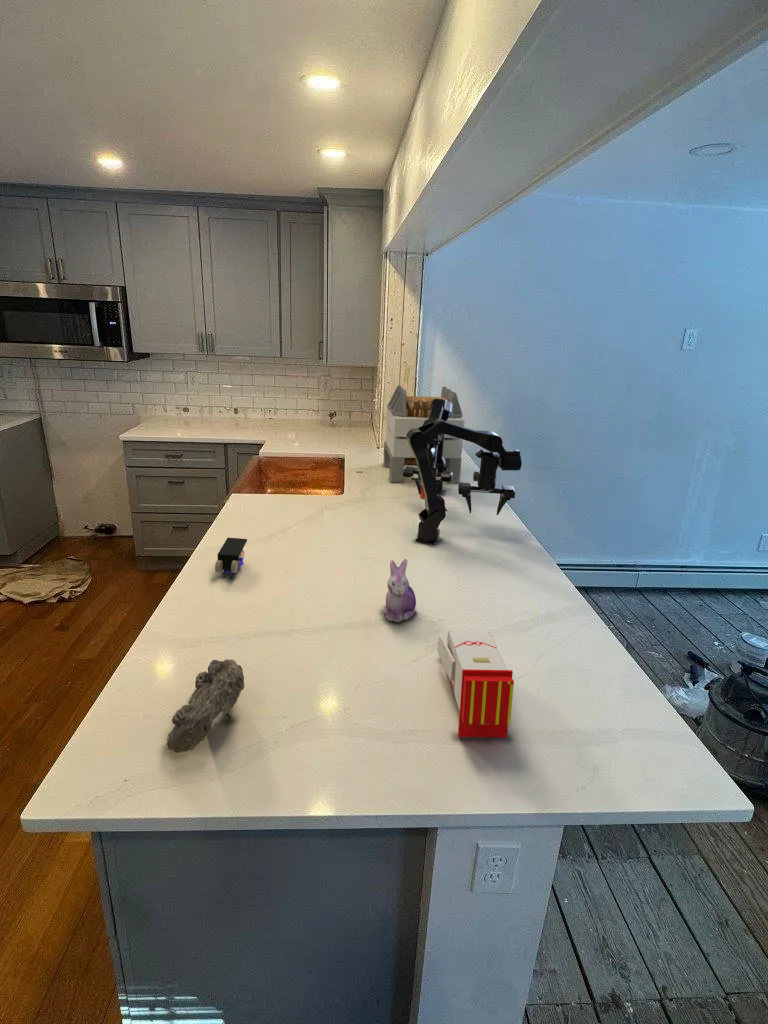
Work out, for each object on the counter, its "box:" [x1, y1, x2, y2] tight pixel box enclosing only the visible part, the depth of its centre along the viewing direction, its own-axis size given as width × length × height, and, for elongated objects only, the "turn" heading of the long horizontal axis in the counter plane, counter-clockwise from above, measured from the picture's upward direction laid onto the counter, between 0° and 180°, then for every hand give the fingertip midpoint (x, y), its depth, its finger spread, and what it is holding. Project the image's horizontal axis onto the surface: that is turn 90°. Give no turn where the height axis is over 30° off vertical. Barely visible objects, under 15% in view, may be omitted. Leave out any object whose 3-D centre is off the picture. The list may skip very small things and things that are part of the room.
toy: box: [437, 628, 515, 738], centre depth 117 cm, size 12×13×30 cm
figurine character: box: [214, 537, 248, 578], centre depth 166 cm, size 7×8×15 cm
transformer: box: [383, 384, 465, 484], centre depth 268 cm, size 34×33×41 cm
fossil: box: [166, 658, 245, 754], centre depth 106 cm, size 22×10×15 cm
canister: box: [419, 484, 425, 501], centre depth 221 cm, size 5×5×5 cm
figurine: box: [384, 558, 417, 623], centre depth 145 cm, size 9×10×15 cm
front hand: (483, 513), depth 195 cm, fingers open, 9 cm apart
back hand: (426, 495), depth 221 cm, fingers closed on canister, 5 cm apart
